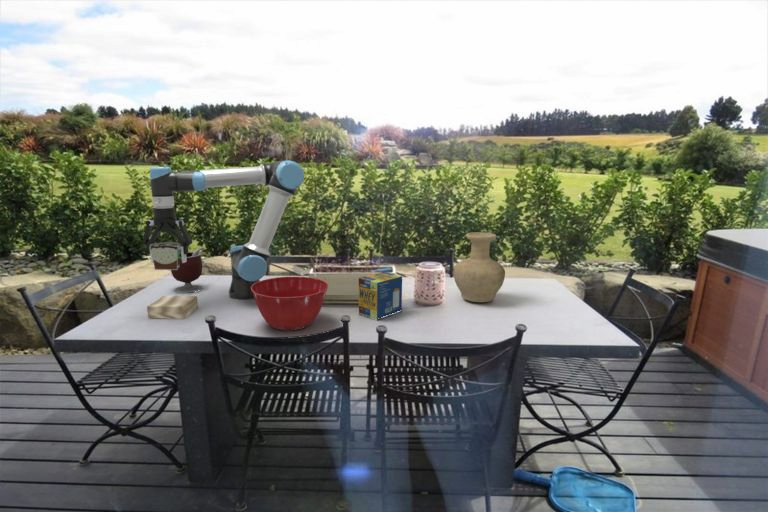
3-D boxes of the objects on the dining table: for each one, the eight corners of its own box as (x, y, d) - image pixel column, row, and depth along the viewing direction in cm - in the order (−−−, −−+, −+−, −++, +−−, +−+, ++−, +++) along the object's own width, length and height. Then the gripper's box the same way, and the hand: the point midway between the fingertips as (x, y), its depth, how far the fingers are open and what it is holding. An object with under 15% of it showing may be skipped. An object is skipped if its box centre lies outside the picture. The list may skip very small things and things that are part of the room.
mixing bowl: (332, 312, 186) (332, 275, 183) (323, 339, 158) (323, 296, 155) (264, 311, 186) (262, 275, 183) (243, 338, 158) (240, 296, 155)
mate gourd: (178, 295, 207) (174, 252, 203) (168, 289, 217) (164, 248, 213) (212, 289, 217) (209, 248, 213) (200, 283, 227) (197, 244, 223)
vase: (508, 308, 193) (513, 239, 186) (456, 307, 193) (459, 238, 187) (497, 293, 215) (500, 230, 208) (449, 292, 215) (452, 230, 209)
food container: (189, 266, 182) (187, 242, 180) (181, 270, 176) (178, 244, 174) (160, 265, 184) (157, 241, 182) (151, 269, 178) (148, 244, 176)
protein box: (358, 314, 183) (357, 277, 180) (383, 306, 194) (384, 271, 191) (376, 321, 176) (376, 282, 173) (402, 311, 188) (403, 275, 184)
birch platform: (198, 307, 191) (197, 296, 190) (184, 318, 177) (183, 306, 176) (164, 307, 191) (163, 295, 190) (148, 318, 177) (146, 306, 176)
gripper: (127, 208, 171) (134, 264, 176) (190, 208, 172) (195, 264, 176) (138, 206, 179) (143, 260, 183) (198, 206, 179) (202, 260, 183)
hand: (169, 262), depth 180 cm, fingers closed on food container, 11 cm apart
